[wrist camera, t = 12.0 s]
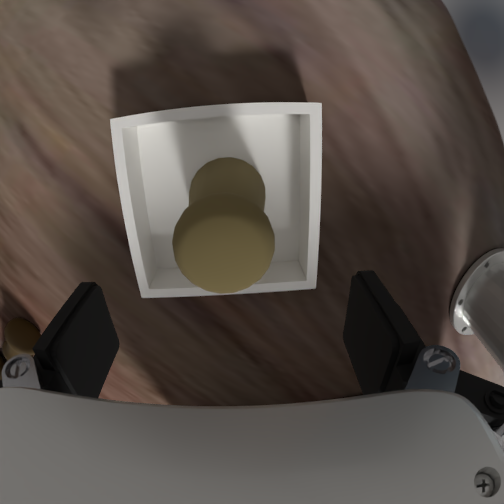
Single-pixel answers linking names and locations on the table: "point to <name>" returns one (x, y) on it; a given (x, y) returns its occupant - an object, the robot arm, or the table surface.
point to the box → (197, 155)
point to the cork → (224, 228)
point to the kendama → (18, 339)
